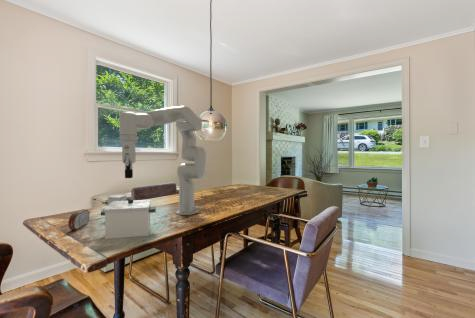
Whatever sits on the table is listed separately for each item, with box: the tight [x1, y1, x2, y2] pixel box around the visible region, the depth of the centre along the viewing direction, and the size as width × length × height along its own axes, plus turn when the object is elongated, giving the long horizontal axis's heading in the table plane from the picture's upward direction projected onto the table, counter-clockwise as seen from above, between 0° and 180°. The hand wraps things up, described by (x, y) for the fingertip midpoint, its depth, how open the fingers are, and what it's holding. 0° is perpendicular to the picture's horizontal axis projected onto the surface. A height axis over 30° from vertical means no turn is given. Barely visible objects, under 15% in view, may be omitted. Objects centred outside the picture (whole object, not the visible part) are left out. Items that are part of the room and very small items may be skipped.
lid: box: [104, 198, 152, 212], centre depth 119 cm, size 19×19×3 cm
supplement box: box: [107, 194, 127, 206], centre depth 143 cm, size 7×7×13 cm
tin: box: [67, 209, 90, 231], centre depth 125 cm, size 15×3×8 cm, turn 5°
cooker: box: [100, 206, 157, 240], centre depth 120 cm, size 24×18×12 cm
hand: (128, 177), depth 115 cm, fingers closed
